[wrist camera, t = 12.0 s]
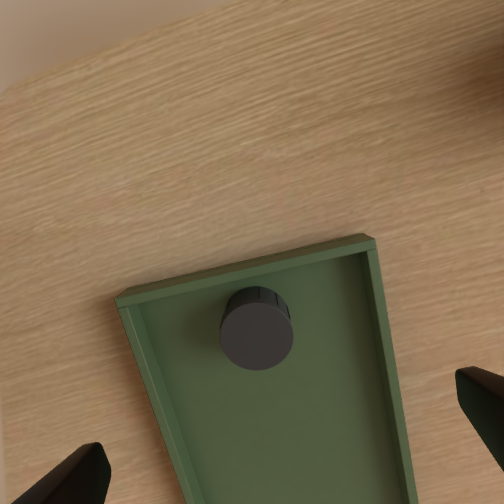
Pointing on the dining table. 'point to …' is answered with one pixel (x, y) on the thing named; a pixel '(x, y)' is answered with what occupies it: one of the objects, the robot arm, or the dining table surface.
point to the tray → (278, 382)
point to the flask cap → (256, 329)
